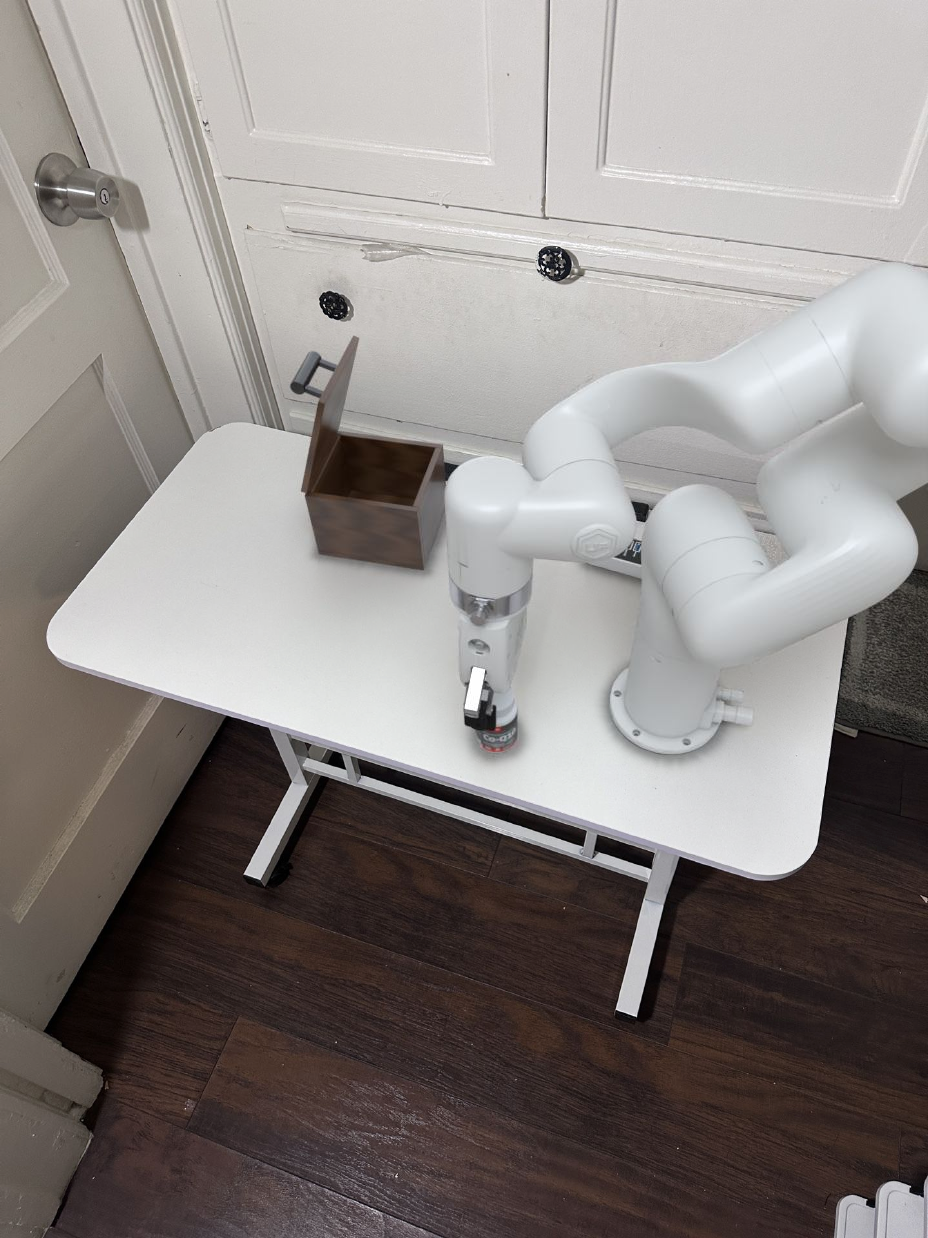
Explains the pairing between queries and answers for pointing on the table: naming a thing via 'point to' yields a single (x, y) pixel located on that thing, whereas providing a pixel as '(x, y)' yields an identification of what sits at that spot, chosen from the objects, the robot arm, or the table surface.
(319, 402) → the chest lid
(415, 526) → the chest
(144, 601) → the table surface
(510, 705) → the pill bottle
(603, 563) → the multiport hub
